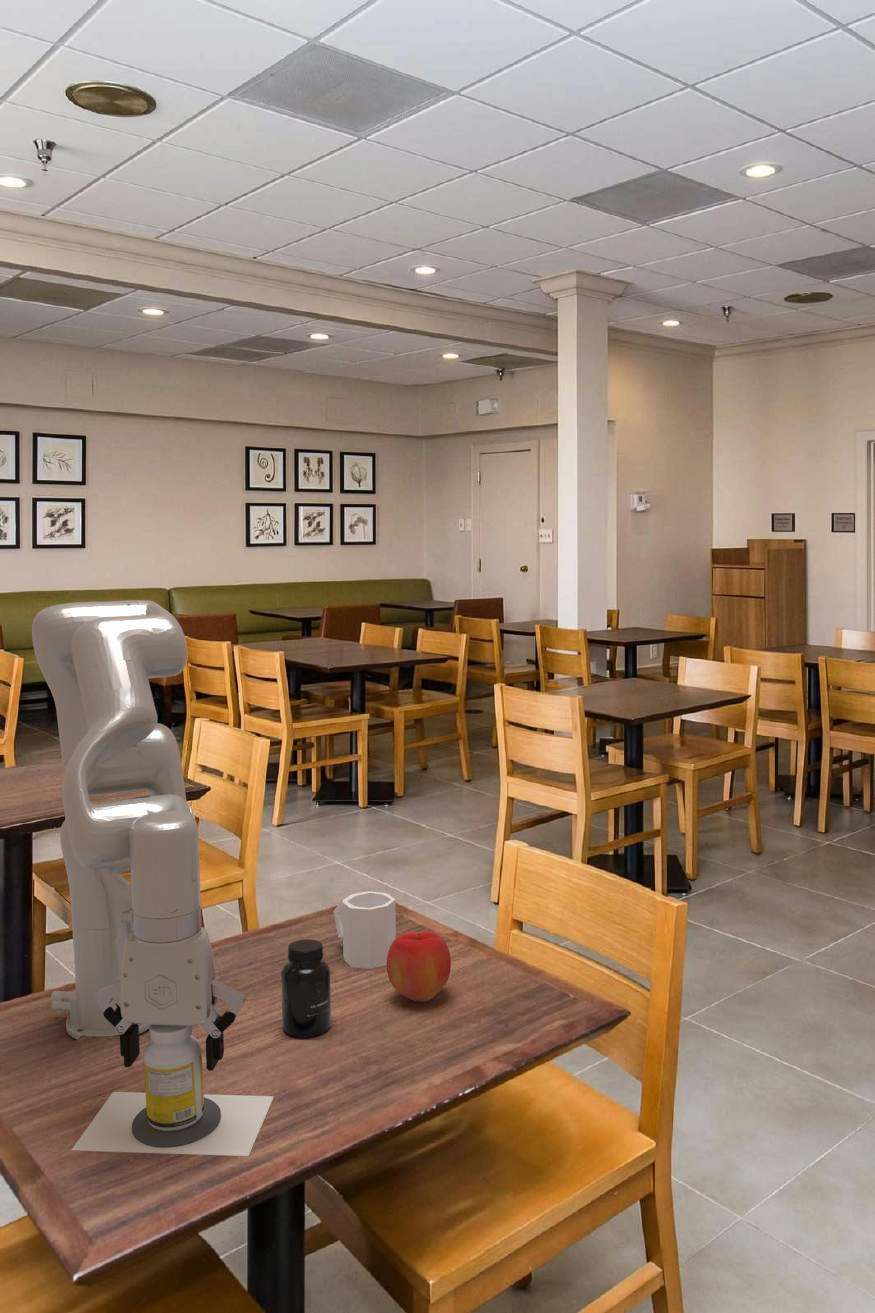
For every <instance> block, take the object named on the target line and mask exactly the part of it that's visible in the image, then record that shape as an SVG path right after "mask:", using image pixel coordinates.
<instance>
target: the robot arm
mask: <svg viewBox="0 0 875 1313" xmlns="http://www.w3.org/2000/svg"><path fill="white" fill-rule="evenodd" d="M31 639H32V646H33V651H34V652H33V653H34V656H35V659H36V662H37V666H38V667H39V670H40V672H41V673H42V676H43V678H44V679H45V682H46V684H47V686H48V688H49V689H50V692H51V694H52V697H53V701H54V705H55V709H56V717H57V718H56V719H57V726H58V735H59V744H60V746H59V747H60V752H61V761H62V768H63V780H62V789H61V790H62V791H61V794H62V796H61V797H62V799H61V800H62V805H63V806H62V807H63V813H64V817H65V819H64V821H63V822H62V824H61V828H60V831H59V838H60V839H59V841H60V848H61V853H62V857H63V860H64V865H65V871H66V875H67V881H68V888H69V895H70V896H69V899H70V908H71V910H70V911H71V913H70V914H71V925H72V926H71V928H72V940H73V941H72V944H73V963H74V964H73V965H74V980H75V989H74V990H73V991H66V990H63V991H62V990H54V991H52V993H51V995H50V1004H51V1011H52V1012H67V1013H69V1015H68V1016H67V1018H66V1020H65V1024H66V1025H65V1026H66V1032H67V1034H68V1035H69V1036H70V1037H72V1038H73V1039H76V1040H79V1039H80V1038H81V1037H82V1036H88V1037H108V1036H109V1037H110V1036H111V1037H112V1036H114V1037H119V1050H120V1052H119V1054H120V1056H121V1057H123V1066H124V1068H131V1067H132V1066H133V1065H134V1063H135V1061H136V1060H137V1059H138V1057H139V1055H140V1053H141V1050H140V1049H141V1046H140V1045H141V1044H140V1034H142V1033H145V1032H146V1031H147V1030H150V1025H166V1026H192V1027H197V1026H202V1027H203V1029H204V1030H205V1031H206V1032H207V1033H208V1034H207V1037H206V1038H205V1058H206V1059H205V1060H206V1063H205V1064H206V1070H208V1071H210V1072H212V1071H215V1068H216V1067H217V1065H218V1062H219V1061H222V1059H223V1057H224V1052H225V1046H224V1045H225V1044H224V1040H225V1039H224V1038H225V1037H224V1032H225V1031H226V1030H227V1029H228V1028H229V1027H230V1026H231V1025H232V1024H233V1023H234V1022H235V1021H236V1018H237V1017H238V1015H239V1012H240V1010H241V1009H242V1007H243V1005H244V1004H245V1001H246V998H247V997H246V994H244V993H242V992H241V991H238V990H236V989H234V988H232V987H231V986H228V985H227V984H225V983H223V982H221V981H219V980H218V979H217V976H216V969H215V967H216V966H215V961H214V955H213V950H212V944H211V940H210V937H209V933H208V931H207V928H206V927H203V926H202V902H201V872H200V870H201V869H200V866H201V865H200V844H199V842H200V841H199V839H200V838H199V837H200V836H199V826H198V823H197V821H196V818H195V817H196V816H195V813H194V811H193V808H192V806H191V805H189V804H188V802H187V795H186V788H185V780H184V773H183V764H182V758H181V753H180V749H179V745H178V741H177V739H176V737H175V735H174V733H173V731H172V730H171V729H170V728H169V727H168V726H166V725H164V724H163V723H158V713H157V710H156V706H155V701H154V698H153V693H152V690H151V685H150V682H149V679H157V678H169V677H170V678H171V677H176V676H178V675H180V674H181V673H182V672H183V671H184V669H185V667H186V665H187V661H188V645H187V640H186V636H185V633H184V631H183V628H182V626H181V625H180V623H179V621H178V620H177V619H176V618H175V616H174V615H173V613H170V612H169V611H168V610H167V609H165V608H164V607H163V606H161V605H160V604H158V603H157V602H155V601H153V600H147V599H143V600H142V599H136V600H135V599H134V600H133V599H132V600H110V601H80V602H79V601H78V602H69V603H66V602H65V603H61V604H55V605H50V606H48V607H45V608H43V609H41V610H39V611H38V612H37V614H35V616H34V617H33V621H32V624H31ZM134 791H135V792H136V791H146V792H147V794H148V795H149V796H146V797H137V798H131V799H130V798H129V799H122V800H115V801H108V802H106V801H105V802H100V803H92V802H91V799H90V797H91V796H92V797H93V796H103V795H104V796H105V795H106V796H107V795H112V794H121V793H127V792H134ZM128 871H130V882H129V881H128V880H127V879H126V878H125V877H124V876H122V874H123V873H125V872H128ZM217 999H218V1000H221V1001H223V1002H225V1003H227V1004H228V1009H227V1010H226V1011H225V1012H224V1013H223V1014H222V1013H221V1012H220V1010H219V1009H218V1008H217V1007H216V1005H217Z"/></svg>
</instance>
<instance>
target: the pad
mask: <svg viewBox="0 0 875 1313" xmlns="http://www.w3.org/2000/svg"><path fill="white" fill-rule="evenodd" d="M220 1120H221V1110H220V1108H219V1106H218V1105H217V1104H216V1103H215V1102H214V1101H212V1100H210V1099H208V1098H205V1097H204V1112H203V1115H202V1116H201V1118H200V1119H199V1120H198V1121H197V1122H196V1123H194V1124H193V1125H191V1126H189V1127H187V1128H184V1129H181V1130H176V1131H161V1130H158V1129H155V1128H154V1127H152V1126H151V1125H150V1124H149V1122H148V1119H147V1108H146V1107H145V1108H144V1109H143V1110H141V1111H140V1112H139V1113H138V1114H137V1115H136V1117H135V1118H134V1120H133V1123H132V1132H133V1135H134V1137H135V1138H136V1139H137V1140H138V1141H139V1142H141V1143H143V1144H145V1145H148V1146H153V1147H161V1148H169V1147H178V1146H183V1145H187V1144H190V1143H193V1142H196V1141H198V1140H200V1139H202V1138H204V1137H206V1136H207V1135H209V1134H210V1133H212V1132H213V1131H214V1130H215V1129H216V1127H217V1126H218V1125H219V1123H220Z"/></svg>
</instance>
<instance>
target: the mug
mask: <svg viewBox="0 0 875 1313" xmlns="http://www.w3.org/2000/svg"><path fill="white" fill-rule="evenodd" d="M333 916H334V922H335V927H336V932H337V938H338V939H341V938H342V945H343V946H342V949H343V950H342V952H343V953H342V954H343V961H345V963H347V965H348V966H349V967H351V968H357V969H365V970H366V969H367V970H368V969H369V970H373V969H377V968H381V967H385V966H386V967H387V955H388V951H389V948H390V946H391V944H392V942H393V941H394V940H395V939H396V938H397V926H396V919H397V918H396V899H395V898H394V897H393V896H391V895H390V894H389V893H388V892H387V893H386V892H378V891H363V892H358V893H352V894H350V895H348V896H347V897H346V898H344V899H341V901H340V902H339V903H338V905H337V906H336V907H335V908H334V910H333Z"/></svg>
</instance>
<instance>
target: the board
mask: <svg viewBox="0 0 875 1313" xmlns="http://www.w3.org/2000/svg"><path fill="white" fill-rule="evenodd" d="M204 1097H205V1098H208V1099H210V1100H212V1101H214V1102H215V1103H216V1104H217V1105H218V1106H219V1108H220V1110H221V1120H220V1123H219V1125H218V1126H217V1127H216V1129H215V1130H214V1131H213V1132H212V1133H210V1134H209V1135H207V1136H206V1137H204V1138H202V1139H200V1140H198V1141H196V1142H193V1143H190V1144H187V1145H183V1146H178V1147H169V1148H161V1147H153V1146H148V1145H145V1144H143V1143H141V1142H139V1141H138V1140H137V1139H136V1138H135V1137H134V1135H133V1132H132V1123H133V1120H134V1118H135V1117H136V1115H137V1114H138V1113H139V1112H140V1111H141V1110H143V1109H144V1108H145V1107H146V1094H145V1092H137V1091H136V1092H135V1091H134V1092H132V1091H130V1092H129V1091H113V1092H112V1093H111V1094H110V1095H109V1097H108V1098H107V1100H106V1101H105V1102H104V1104H102V1107H100V1109H99V1111H98V1112H97V1113H96V1115H95V1117H93V1120H91V1122H90V1123H89V1125H88V1126H87V1127H86V1128H85V1130H84V1132H83V1133H82V1134H81V1136H80V1137H79V1138H78V1140H77V1141H76V1143H75V1144H74V1146H73V1147H72V1149H71V1151H75V1152H77V1151H78V1152H80V1151H81V1152H100V1153H101V1152H102V1153H103V1152H104V1153H105V1152H106V1153H107V1152H108V1153H133V1154H134V1153H135V1154H136V1153H137V1154H163V1155H164V1154H166V1155H167V1154H169V1155H195V1156H197V1155H198V1156H199V1155H200V1156H222V1157H223V1156H225V1157H226V1156H230V1157H233V1156H234V1157H249V1156H250V1153H251V1151H252V1149H253V1146H254V1144H255V1142H256V1140H257V1137H258V1135H259V1133H260V1130H261V1128H262V1125H263V1123H264V1121H265V1118H266V1116H267V1114H268V1111H269V1110H270V1107H271V1105H272V1103H273V1100H274V1097H275V1096H274V1095H271V1096H270V1095H269V1096H268V1095H240V1094H239V1095H238V1094H236V1095H235V1094H234V1095H233V1094H232V1095H231V1094H207V1093H206V1094H205V1093H204Z"/></svg>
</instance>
